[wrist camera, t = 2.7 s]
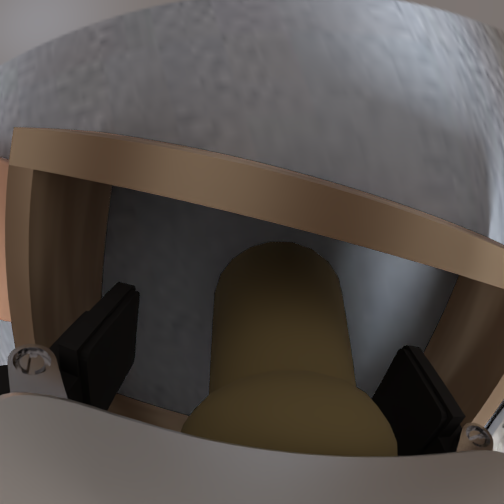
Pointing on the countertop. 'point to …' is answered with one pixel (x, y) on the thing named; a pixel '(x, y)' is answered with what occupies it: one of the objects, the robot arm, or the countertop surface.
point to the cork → (286, 361)
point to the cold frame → (240, 202)
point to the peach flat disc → (3, 242)
